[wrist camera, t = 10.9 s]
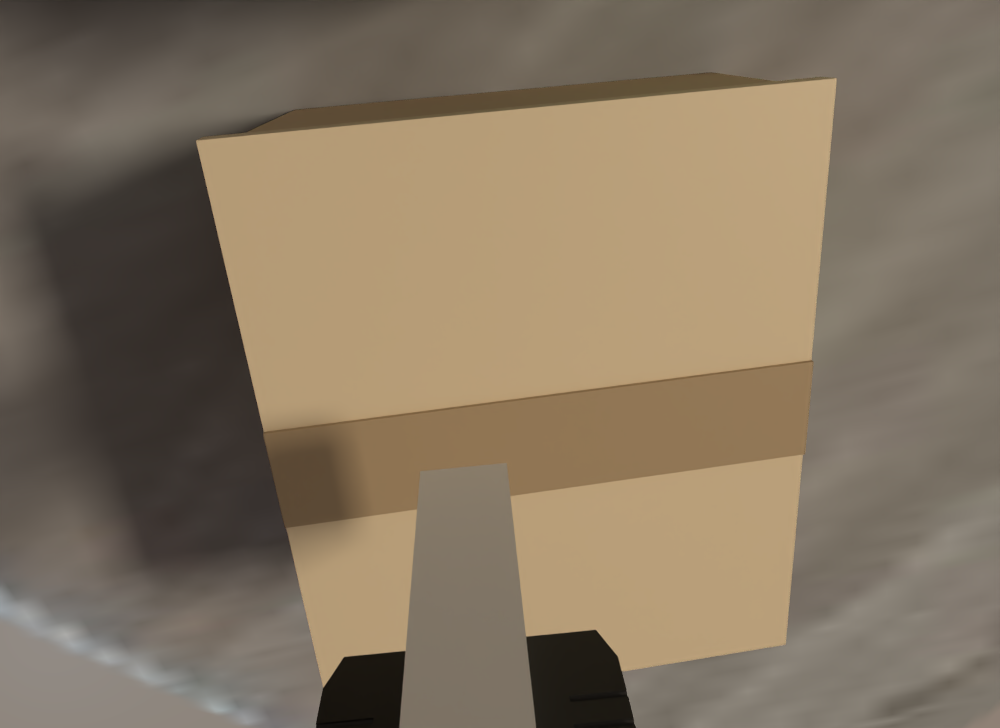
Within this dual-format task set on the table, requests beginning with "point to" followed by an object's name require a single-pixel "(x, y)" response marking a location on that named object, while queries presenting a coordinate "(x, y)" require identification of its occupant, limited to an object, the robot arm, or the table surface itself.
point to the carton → (498, 100)
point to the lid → (541, 351)
